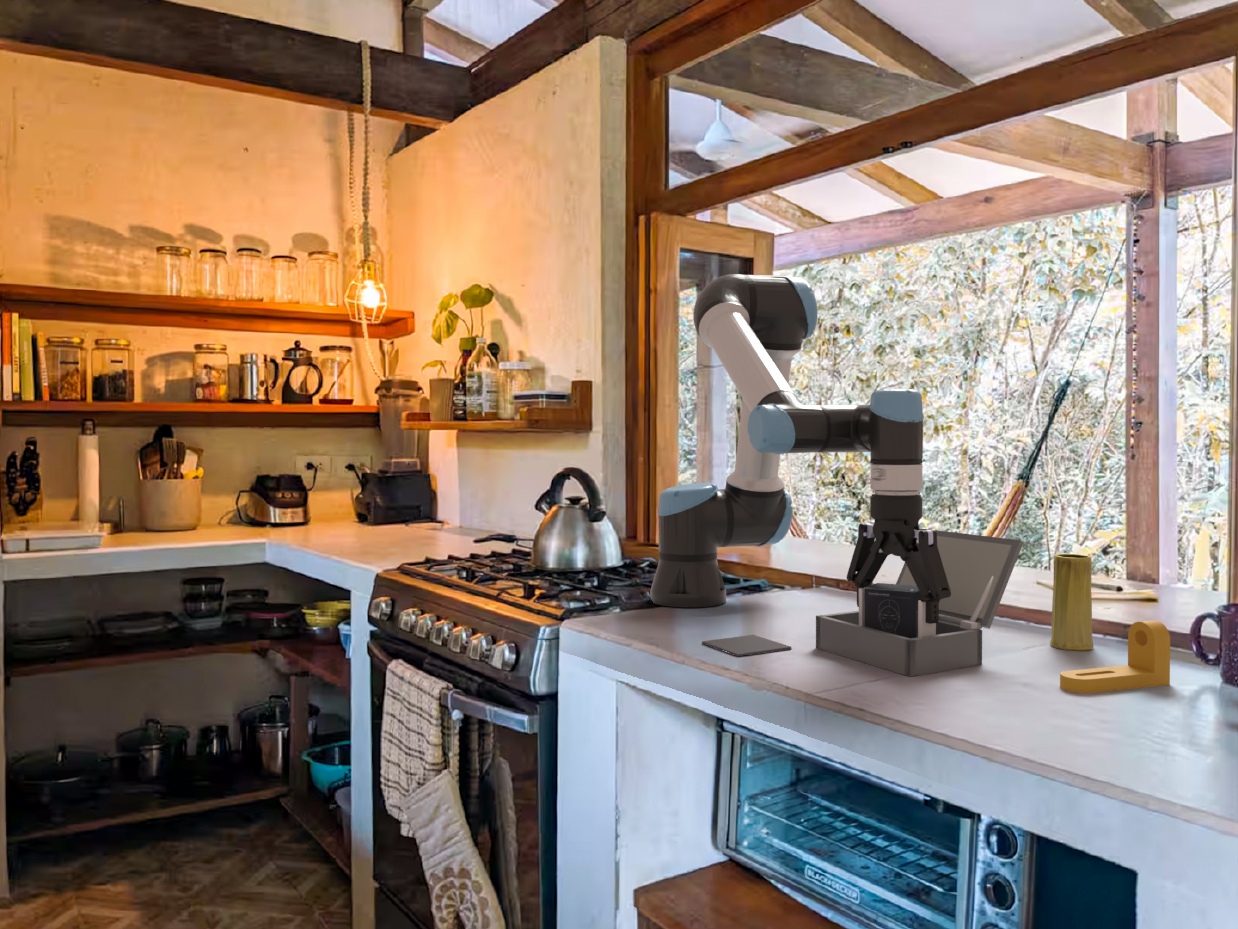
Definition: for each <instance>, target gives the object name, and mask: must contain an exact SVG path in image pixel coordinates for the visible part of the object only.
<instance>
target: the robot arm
mask: <svg viewBox="0 0 1238 929" xmlns="http://www.w3.org/2000/svg"><path fill="white" fill-rule="evenodd" d="M692 314H693V316H692V317H693V324H694V329H695V331H696V333H697V334H698V336H699V338H700V341H702V343H703V344H705V346H707V347H709V348H710V349H713V350H714V352H715V354H716V355H717V357H718V359H719V361H720V362H721V364H722V366H723V367H724V369H725V371H726V373H727V374H728V376H729V378H730V379H731V381H732V383H733V384H734V386H735V388H736V389H737V391H738V392H739V394H740V397H741V398H742V400H741V401H742V402H741V411H740V419H739V428H738V439H737V448H736V456H735V457H736V458H735V464H734V465H735V466H734V467H735V468H734V471H732V472H731V473H730V474H729V475H728V476H727V477H726V479H725V480H726V481H725V487H724V489H721V488H720V489H719V487H718V486H717V484H716V483H715V482H700V483H699V482H698V483H686V484H681V485H675V486H672V487H671V486H670V487H668V488H666V489H664V490H662V491H661V492H660V494H659V496H658V510H657V515H658V516H657V517H658V565H657V567H656V571H655V573H654V577H653V580H652V584H651V588H650V590H649V592H650V593H649V598H650V597H651V599H652V601H653V604H655V605H659V606H665V607H672V608H705V607H715V606H720V605H722V604H726V602H727V589H726V586H725V583H724V579H723V577H722V572H721V571H720V568H719V565H718V548H731V547H734V548H735V547H764V546H765V545H766V546H769V545H770V546H771V545H777V544H778V543H780V542H781V541H782V540H784V538H785V537H786V536H787V535H788V533H789V530H790V528H791V525H792V520H793V516H794V512H793V511H794V507H793V506H792V504H793V501H792V497H791V494H790V493H789V491H788V490H786V489H785V482H784V481H783V480H782V479H781V478H780V476H779V469H780V468H779V466H780V460H781V455H783V454H784V455H785V454H799V453H800V454H807V453H808V454H809V453H811V454H812V453H855V454H857V453H870V454H869V455H870V463H869V464H870V489H871V491H874V493H871V496H870V497H869V498H870V499H869V500H870V503H869V504H870V510H869V512H870V514H869V515H870V518H872V519H874V522H864V523H859V524H858V526H857V527H858V530H857V531H858V532H857V540H856V544H855V547H854V549H853V550H854V551H853V554H852V557H851V560H850V564H849V567H848V570H847V575H846V580H847V582H852V583H853V584H854V586H855V587H856V605H857V606H856V607H857V608H858V611H859V625H860V626H864V627H865V603H864V602H865V601H864V589H865V587H867V586H870V585H873V584H874V580H875V579H876V577H877V575H878V573H879V572H880V570H881V568H882V567H883V564H884V563H885V561H886V559H887V557H888V556H890V555H893V556H894V557H895V556H896V557H899V558H900V559H901V561H903V562H904V563H906V565H907V567H908V569H909V571H910V573H911V575H912V577H913V579H914V581H915V583H916V585H917V587H918V589H919V591H920V593H921V595H922V598H921V599H920V600H919V601H918V637H924V636H931V635H936V623H938V621H939V601H940V600H941V599H943V598H947V597H950V596H951V591H950V587H949V584H948V581H947V577H946V574H945V570H944V567H943V564H942V560H941V557H940V553H939V550H938V547H937V532H936V531H935V530H936V529H930V530H923V531H922V530H920V525H919V522H920V520H921V519H922V518H923V496H922V495H921V494H920V493H919V492H921V491H923V490H924V488H923V487H924V486H923V485H924V484H923V482H924V481H923V476H924V475H923V457H924V456H923V453H924V452H923V451H924V445H923V444H924V418H925V416H924V414H925V413H923V410H924V409H923V395H922V394H921V392H920V391H918V390H917V389H902V388H901V389H900V388H899V389H897V388H896V389H878V390H875V391H872V393H871V395H870V401H869V402H870V403H869V404H803V403H801V401H800V400H799V398H798V396H797V395H796V394H795V392H794V390H793V389H792V388H791V387H790V385H789V384H790V378H791V377H790V375H791V369H792V368H791V367H792V359H793V357H794V356H796V355H797V354H798V353H799V352H801V350H802V342H803V340H807V339H808V338H810V337H812V336H813V334H814V331H815V330H816V328H817V323H818V304H817V299H816V295H815V293H814V291H813V288H812V287H811V285H810V283H809V282H807V281H806V280H805V279H804V278H800V277H795V276H794V277H793V276H787V275H772V274H771V275H769V274H766V275H765V274H741V273H730V274H725V275H721V276H719V277H717V278H714V279H713V280H712V281H710V282H709V283H708V284H707V285H705V287H703V289H702V290H701V292H700V293H699V295H698V296H697V299H696V301H695V303H694V306H693V313H692ZM918 543H919V544H918ZM912 551H913V552H912ZM940 588H941V590H940ZM929 591H930V592H929Z"/></svg>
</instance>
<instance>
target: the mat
mask: <svg viewBox="0 0 1238 929" xmlns="http://www.w3.org/2000/svg"><path fill="white" fill-rule="evenodd" d="M701 644H702V645H704V644H707V645H709V646H708V647H710V646H712V647H715V648H717V649H716V650H718V649H719V650H718V651H721V650H724V651H727V652H729V653H731V654H730V655H732V654H734V655H737V656H741V657H744V656H743V655H748V656H751V655H750V654H755V655H759V654H758V653H762V654H765V653H764V652H769V653H773V652H772V651H776V652H780V651H779V650H783V651H790V650H792V646H790V645H786V644H783V643H781V642H778V641H774V640H771V639H768V638H765V637H762V636H759V635H756V634H749V635H741V636H733V637H725V638H718V639H710V640H702V641H701ZM707 645H706V646H707ZM712 647H711V648H712ZM715 648H714V649H715ZM729 653H728V654H729ZM734 655H733V656H734ZM737 656H736V657H737Z"/></svg>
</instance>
